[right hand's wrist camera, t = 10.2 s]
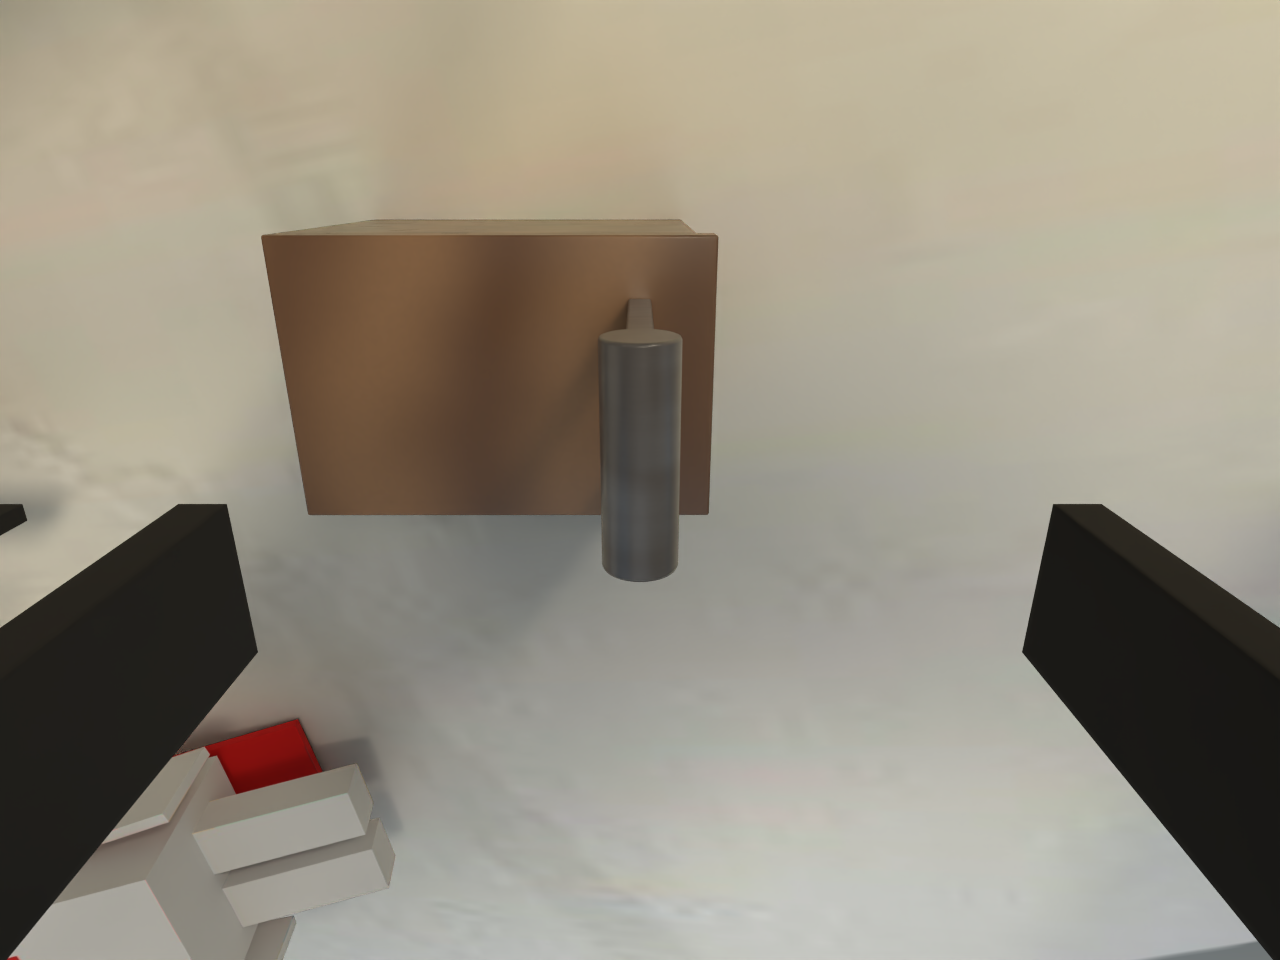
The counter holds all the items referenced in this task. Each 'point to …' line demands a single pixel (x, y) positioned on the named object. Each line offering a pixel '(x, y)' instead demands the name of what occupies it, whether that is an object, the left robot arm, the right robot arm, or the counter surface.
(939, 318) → the counter surface
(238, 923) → the toy
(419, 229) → the brown hollow box
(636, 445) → the lid
